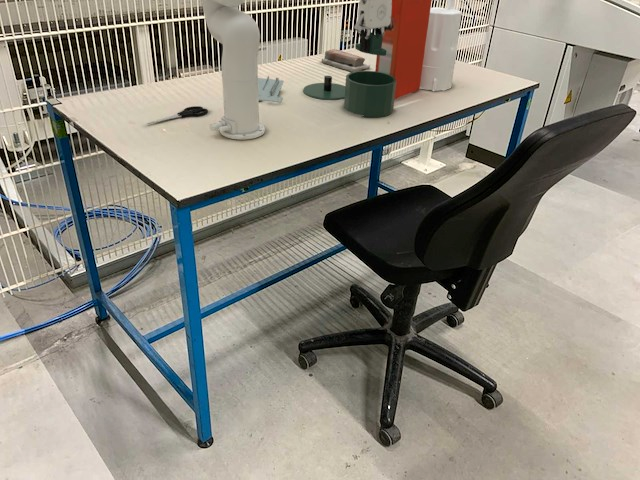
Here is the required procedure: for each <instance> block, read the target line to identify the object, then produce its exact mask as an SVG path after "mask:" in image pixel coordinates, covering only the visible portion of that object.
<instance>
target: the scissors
mask: <svg viewBox="0 0 640 480" xmlns="http://www.w3.org/2000/svg"><path fill="white" fill-rule="evenodd" d="M208 112H209V110H208V108H203V106H201V105H198V106H195V105H194V106H189V107H185V108H184V109H183V110H182V111H179V112H177V113H176V114H174V115H170V116H167V117H164V118H161V119H157V120H154V121H151V122H148V123H146V125H150V124H154V123H158V122H164V121H168V120H172V119H177V118H180V117H181V118H182V119H183V118H185V119H186V118H191V117H192V118H193V117H195V118H197V117H203V116H205V115H207V114H208Z"/></svg>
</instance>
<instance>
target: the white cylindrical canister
mask: <svg viewBox="0 0 640 480" xmlns="http://www.w3.org/2000/svg"><path fill="white" fill-rule="evenodd" d="M433 1H434V2H435V1H436V2H437V1H438V0H433ZM455 4H456V0H447V4H446V7H439V6H438V7H436V6H435V7H434V6H433V7H431V9H430V16H429V23H428V30H427V37H426V45H425V52H424V59H423V66H422V73H421V81H420V88H419V90H427V91H432V92H436V91H442V92H445V91H446V90H449V89H451V88H452V86H453V77H454V73H455V72H454V70H455V65H456V62H457V61H456V59H457V53H458V43H459V35H460V27H461V20H462V11H461V10H458V9H456V8H455V6H456V5H455Z"/></svg>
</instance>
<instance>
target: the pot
mask: <svg viewBox="0 0 640 480" xmlns="http://www.w3.org/2000/svg"><path fill="white" fill-rule="evenodd" d="M396 82H397V81H396V78H395V77H393V76H392V75H389V74H386V73H383V72H377V71H375V70H359V71H356V72H349V73H347V74H346V75H345V84H344V86H345V98H344V99H343V108H344V109H345V110H346V111H347V112H348V113H351V114H354V115H357V116H361V118H369V119H377V118H378V119H379V118H385V117H388V116H390V115H391V114H392V113H393V111H394V106H395V105H394V104H395V99H394V98H395V90H396Z"/></svg>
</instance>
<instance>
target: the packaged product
mask: <svg viewBox="0 0 640 480" xmlns="http://www.w3.org/2000/svg"><path fill="white" fill-rule="evenodd" d="M365 61H366V58H364V57H362V56H359V55H356V54H352V53H350V52H346V51H343V50H340V49H336V48H332V49H329V50H328V49H327V50H326V51H324V58H321V63H322V64H326V65H329V66H331V67H333V68H337V69H342V70H345V71H349V72H350V73H352V72H356V71H364V70H366V69H367V70H368V69H370V68H371V65H370V64H366V63H365Z"/></svg>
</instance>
